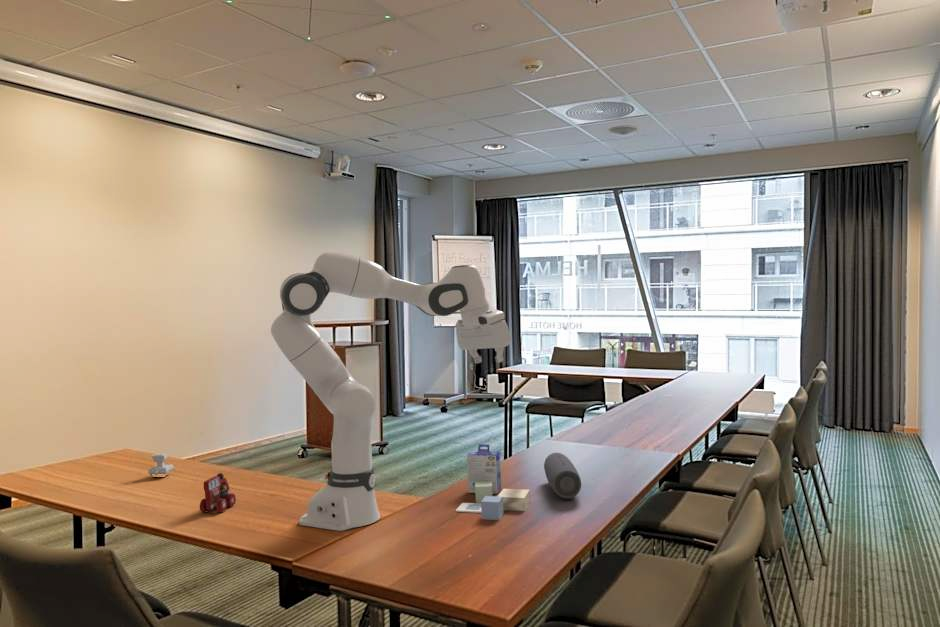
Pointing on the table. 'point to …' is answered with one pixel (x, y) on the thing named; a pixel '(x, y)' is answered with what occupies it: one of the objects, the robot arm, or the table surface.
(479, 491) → the green cube
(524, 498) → the birch base
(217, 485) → the toy fire truck
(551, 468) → the bluetooth speaker
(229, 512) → the table surface
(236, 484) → the table surface
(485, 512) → the blue cube
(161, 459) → the stamp
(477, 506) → the swatch card
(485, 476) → the ink cartridge box
